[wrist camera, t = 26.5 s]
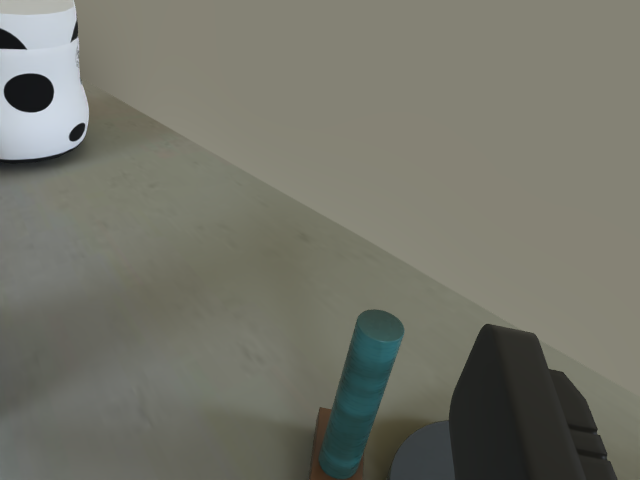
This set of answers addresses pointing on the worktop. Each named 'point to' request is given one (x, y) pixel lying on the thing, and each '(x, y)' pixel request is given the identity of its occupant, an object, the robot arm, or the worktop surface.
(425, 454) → the turntable plate
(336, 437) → the peg on stand
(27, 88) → the milk container
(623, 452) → the worktop surface
